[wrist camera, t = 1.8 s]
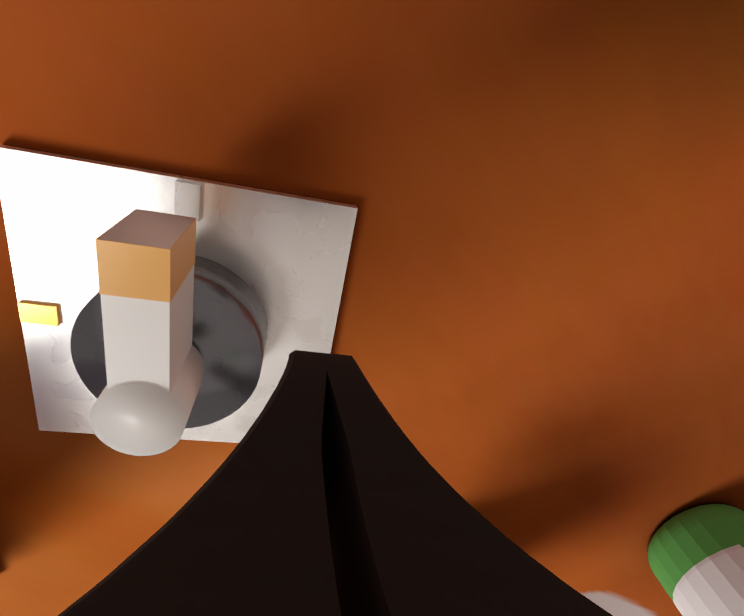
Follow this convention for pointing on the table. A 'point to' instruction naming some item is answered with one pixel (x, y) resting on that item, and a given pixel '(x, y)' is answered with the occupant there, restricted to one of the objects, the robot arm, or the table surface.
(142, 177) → the post base
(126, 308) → the lever handle
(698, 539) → the wine bottle
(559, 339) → the table surface
